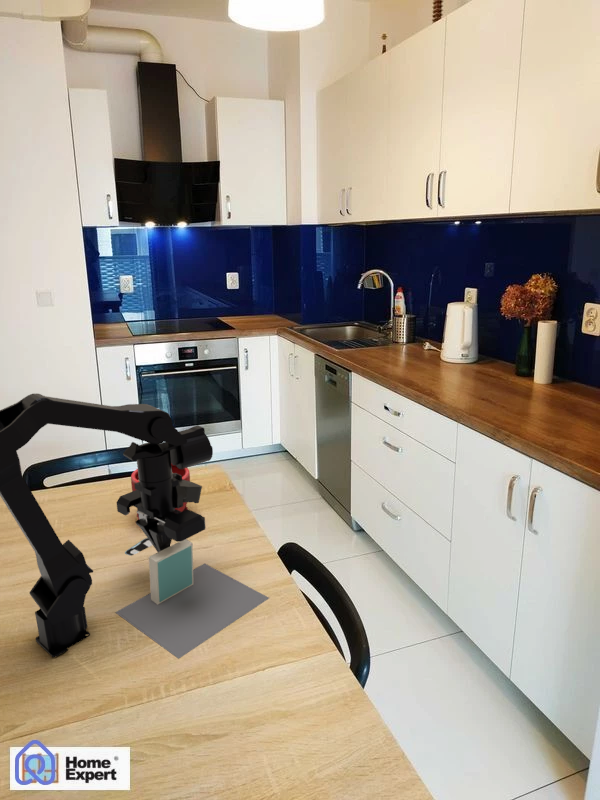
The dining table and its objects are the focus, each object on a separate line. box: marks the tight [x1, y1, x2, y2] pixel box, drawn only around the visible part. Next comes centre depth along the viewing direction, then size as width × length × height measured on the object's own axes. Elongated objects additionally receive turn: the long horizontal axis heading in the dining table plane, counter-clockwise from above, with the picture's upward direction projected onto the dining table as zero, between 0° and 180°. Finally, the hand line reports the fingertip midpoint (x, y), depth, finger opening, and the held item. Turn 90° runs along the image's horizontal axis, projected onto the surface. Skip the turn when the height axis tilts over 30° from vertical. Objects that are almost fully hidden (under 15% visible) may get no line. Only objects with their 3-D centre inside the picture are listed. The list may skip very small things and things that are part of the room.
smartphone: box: [124, 537, 153, 557], centre depth 119 cm, size 7×1×15 cm
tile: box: [148, 538, 194, 605], centre depth 104 cm, size 8×2×9 cm, turn 138°
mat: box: [114, 563, 270, 660], centre depth 102 cm, size 20×18×1 cm
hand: (163, 555), depth 105 cm, fingers closed
